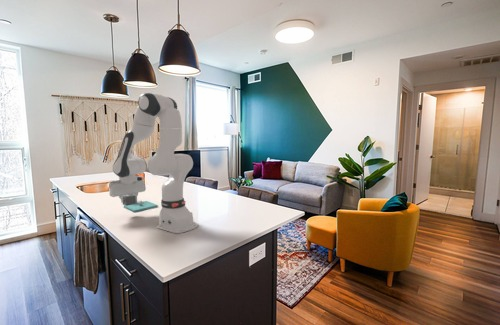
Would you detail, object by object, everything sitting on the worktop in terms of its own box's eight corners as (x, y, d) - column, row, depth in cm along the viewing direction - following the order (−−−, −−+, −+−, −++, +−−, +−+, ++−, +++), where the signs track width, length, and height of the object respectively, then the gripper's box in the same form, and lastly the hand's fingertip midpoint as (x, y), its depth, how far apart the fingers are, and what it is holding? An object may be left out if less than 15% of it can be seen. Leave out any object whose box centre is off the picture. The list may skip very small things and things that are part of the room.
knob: (136, 203, 144) (135, 195, 144) (126, 205, 140) (125, 197, 139) (132, 202, 148) (131, 194, 147) (122, 204, 143) (122, 195, 143)
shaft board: (157, 206, 162) (157, 200, 161) (134, 212, 150) (133, 205, 149) (146, 202, 172) (146, 196, 171) (123, 207, 160) (123, 201, 159)
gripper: (110, 182, 133) (112, 205, 134) (146, 177, 148) (147, 198, 149) (106, 181, 137) (108, 204, 138) (141, 176, 152) (142, 197, 153)
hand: (129, 201), depth 144 cm, fingers closed on knob, 6 cm apart
